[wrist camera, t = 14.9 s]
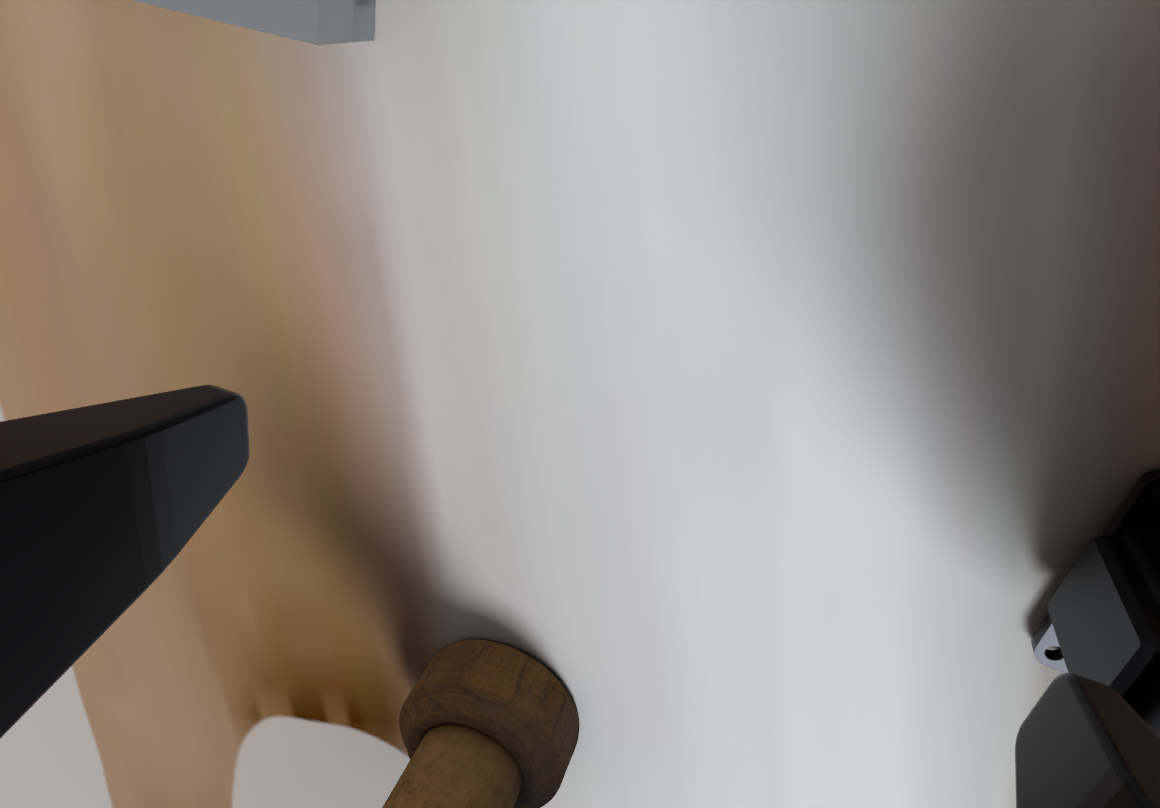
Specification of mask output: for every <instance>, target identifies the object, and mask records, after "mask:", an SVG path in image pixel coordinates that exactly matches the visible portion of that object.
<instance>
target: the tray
mask: <svg viewBox="0 0 1160 808" xmlns="http://www.w3.org/2000/svg"><path fill="white" fill-rule="evenodd" d="M133 1H137V2H142V3H146V4H150V5H154V6H158V7H162V8H166V9H171V10H175V11H179V12H183V13H187V14H191V15H195V16H200V17H204V18H208V19H212V20H216V21H220V22H224V23H229V24H233V25H237V26H241V27H245V28H249V29H253V30H258V31H262V32H266V33H270V34H274V35H278V36H282V37H287V38H291V39H295V40H299V41H303V42H307V43H311V44H316V45H322V44H335V43H347V42H360V41H372V40H374V24H375V0H133Z"/></svg>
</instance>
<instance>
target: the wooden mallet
mask: <svg viewBox="0 0 1160 808" xmlns="http://www.w3.org/2000/svg"><path fill="white" fill-rule="evenodd" d="M400 731H401V736H402V739H403V742H404V744H405V747H406V749H407V751H408V755H409V757H410V762H409V763H408V765H407V767H406V769H405V770H404V772H403V774H402V775H401V777H400V779H399V781H398V782H397V784H396V786H395V787H394V789H393V791H392V792H391V794H390V796H389V797H388V799H387V801H386V802H385V804H384V806H383V808H540V807H542V806H544V805H545V804H547V803H548V802H549V801H550V800H551V799H552V798H553V797H554V796H555V794H556V793H557V791H558V789H559V787H560V785H561V783H562V780H563V777H564V775H565V772H566V770H567V767H568V765H569V762H570V760H571V757H572V755H573V752H574V750H575V747H576V744H577V740H578V735H579V719H578V714H577V710H576V708H575V705H574V702H573V700H572V698H571V697H570V695H569V693H568V691H567V690H566V689H565V687H564V686H563V685H562V683H561V682H560V681H559V680H558V679H557V678H556V676H555V675H554V674H553V673H552V672H551V671H549V670H548V669H547V668H546V667H545V666H544V665H542V664H541V663H539V662H538V661H536V660H535V659H533V658H532V657H530V656H529V655H527V654H525V653H523V652H521V651H519V650H517V649H515V648H512V647H510V646H507V645H504V644H500V643H496V642H493V641H488V640H478V639H469V640H462V641H458V642H455V643H452V644H450V645H448V646H446V647H444V648H443V649H442V650H440V651H439V652H438V653H437V654H436V655H435V656H434V657H433V659H432V660H431V661H430V663H429V664H428V665H427V667H426V669H425V670H424V672H423V674H422V675H421V677H420V679H419V680H418V682H417V683H416V685H415V686H414V688H413V689H412V691H411V692H410V694H409V695H408V697H407V699H406V700H405V702H404V704H403V707H402V709H401V713H400Z"/></svg>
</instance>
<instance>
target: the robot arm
mask: <svg viewBox="0 0 1160 808" xmlns="http://www.w3.org/2000/svg"><path fill="white" fill-rule="evenodd" d="M248 458H249V434H248V415H247V404H246V402H245V400H244V398H243V397H242V396H241V395H240V394H238V393H235V392H232V391H229V390H226V389H223V388H220V387H217V386H214V385H203V386H197V387H191V388H186V389H180V390H175V391H169V392H164V393H158V394H153V395H147V396H141V397H136V398H130V399H125V400H119V401H114V402H108V403H102V404H97V405H91V406H86V407H80V408H75V409H69V410H63V411H58V412H52V413H47V414H41V415H36V416H30V417H25V418H19V419H13V420H8V421H2V422H0V738H1V737H2V736H3V735H4V734H5V733H6V732H7V731H8V730H9V729H10V728H11V727H12V726H13V725H14V724H15V723H16V722H17V721H18V720H19V719H20V718H21V717H22V715H24V714H25V713H26V712H27V711H28V710H29V709H30V707H32V706H33V705H34V704H35V702H37V701H38V699H39V698H40V697H41V696H42V695H43V694H44V693H45V692H46V691H47V690H48V689H49V688H50V687H51V686H52V685H53V684H54V683H55V682H56V681H57V680H58V679H59V678H60V677H61V676H62V675H63V674H64V673H65V672H66V671H67V670H68V669H69V667H71V666H72V665H73V664H74V663H75V662H76V661H77V660H78V659H79V658H80V657H81V656H82V655H83V654H84V653H85V652H86V650H87V649H88V648H89V647H90V646H91V645H92V644H93V643H94V642H95V641H96V640H97V639H98V638H99V637H100V636H101V635H102V634H103V633H104V632H105V631H106V630H107V629H108V628H109V627H110V626H111V625H112V624H113V623H114V622H115V621H116V620H117V619H118V618H119V617H120V616H121V615H122V614H123V613H124V612H125V611H126V610H127V609H128V608H129V607H130V606H131V605H132V604H133V603H134V602H135V600H136V599H137V598H138V597H139V596H140V595H141V594H142V593H143V592H144V591H145V590H146V589H147V588H148V587H149V586H150V585H151V584H152V583H153V582H154V581H155V580H156V579H157V578H158V576H159V575H160V574H161V573H162V572H163V571H164V570H165V569H166V567H167V566H168V565H169V564H170V563H171V562H172V560H173V559H174V558H175V557H176V556H177V555H178V553H179V552H180V551H181V550H182V548H183V547H184V546H185V545H186V543H187V542H188V541H189V540H190V538H191V537H192V536H193V535H194V533H195V532H196V531H197V530H198V528H199V527H200V526H201V525H202V523H203V522H204V521H205V520H206V518H207V517H208V516H209V515H210V513H211V512H212V511H213V510H214V508H215V507H216V506H217V505H218V503H219V502H220V501H221V500H222V498H223V497H224V496H225V495H226V493H227V492H228V491H229V490H230V488H231V487H232V486H233V485H234V483H235V482H236V481H237V480H238V478H239V477H240V476H241V474H242V473H243V471H244V469H245V467H246V465H247V462H248ZM1158 488H1160V469H1156V470H1151V471H1149V472H1147V473H1145V474H1143V475H1142V476H1141V477H1140V478H1139V479H1138V481H1137V482H1136V484H1135V485H1134V487H1133V488H1132V490H1131V491H1130V493H1129V494H1128V496H1127V497H1126V499H1125V500H1124V502H1123V503H1122V505H1121V506H1120V508H1119V509H1118V511H1117V512H1116V514H1115V515H1114V517H1113V518H1112V520H1111V521H1110V523H1109V524H1108V526H1107V527H1106V529H1105V530H1104V532H1103V533H1101V534H1099V535H1097V536H1095V537H1093V538H1091V539H1090V541H1089V542H1088V544H1087V545H1086V547H1085V548H1084V550H1083V551H1082V553H1081V554H1080V556H1079V557H1078V559H1077V560H1076V562H1075V563H1074V565H1073V566H1072V568H1071V569H1070V571H1069V572H1068V574H1067V575H1066V577H1065V578H1064V580H1063V581H1062V583H1061V584H1060V586H1059V587H1058V589H1057V590H1056V592H1055V593H1054V595H1053V597H1052V598H1051V600H1050V601H1049V603H1048V605H1047V609H1048V612H1049V614H1048V615H1047V617H1046V618H1045V620H1044V621H1043V623H1042V624H1041V626H1040V627H1039V629H1038V630H1037V632H1036V633H1035V635H1034V636H1033V639H1032V642H1031V643H1032V647H1033V651H1034V654H1035V658H1036V659H1037V660H1038V661H1039V662H1040V663H1042V664H1044V665H1046V666H1048V667H1051V668H1054V669H1057V670H1060V671H1063V672H1066V673H1064V674H1060V675H1059V676H1057V677H1056V678H1055V679H1054V680H1053V681H1052V682H1051V684H1050V685H1049V687H1048V688H1047V689H1046V691H1045V692H1044V694H1043V695H1042V696H1041V698H1040V699H1039V701H1038V702H1037V703H1036V705H1035V706H1034V708H1033V709H1032V710H1031V712H1030V713H1029V715H1028V716H1027V717H1026V719H1025V720H1024V722H1023V723H1022V725H1021V727H1020V729H1019V732H1018V735H1017V739H1016V745H1015V768H1016V808H1160V495H1154V494H1153V493H1154V491H1156V490H1157V489H1158ZM1053 646H1056V647H1060V648H1059V649H1057V650H1047V648H1049V647H1053Z"/></svg>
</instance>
